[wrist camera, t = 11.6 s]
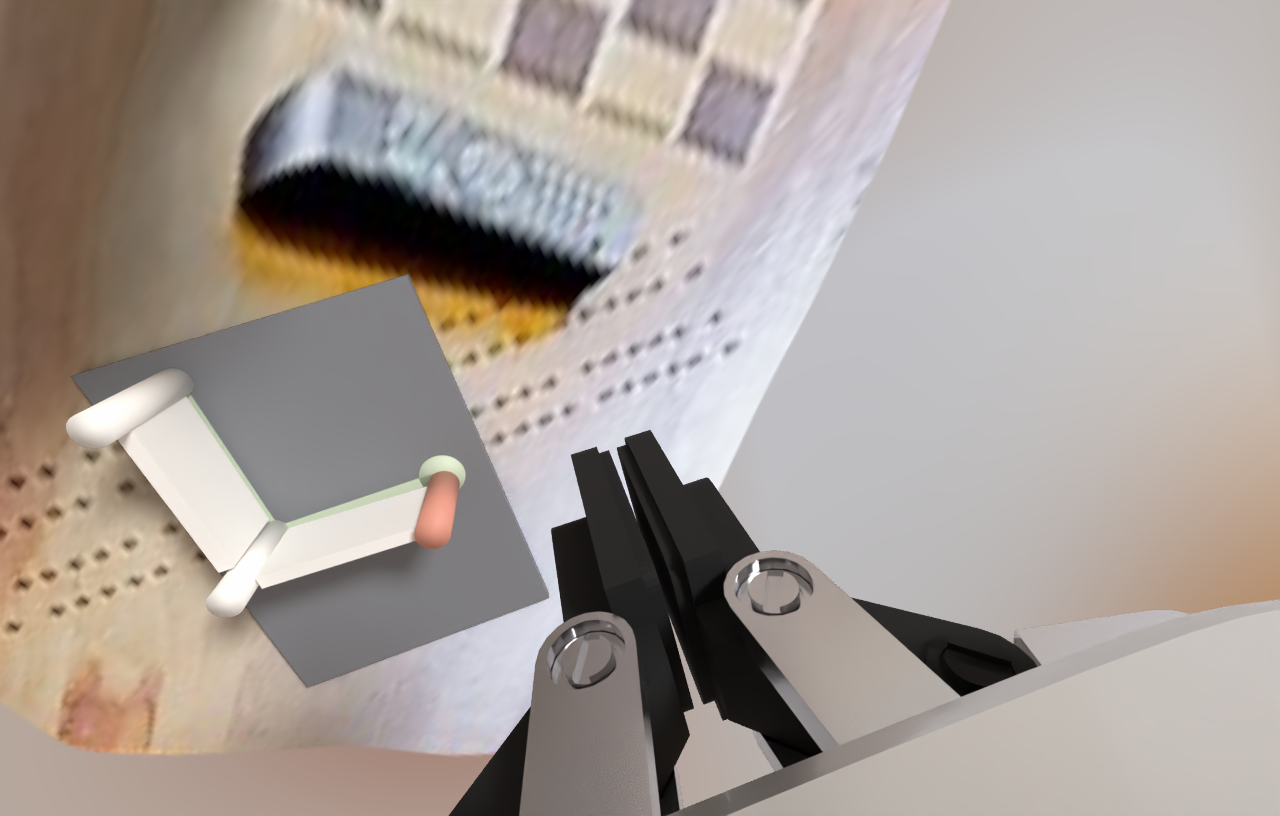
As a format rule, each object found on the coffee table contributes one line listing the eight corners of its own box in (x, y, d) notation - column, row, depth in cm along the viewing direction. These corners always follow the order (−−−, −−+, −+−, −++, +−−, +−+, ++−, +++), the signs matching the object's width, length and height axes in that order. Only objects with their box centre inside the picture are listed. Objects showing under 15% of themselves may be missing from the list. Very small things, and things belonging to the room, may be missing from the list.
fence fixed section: (149, 373, 31) (56, 420, 25) (182, 364, 31) (97, 407, 25) (269, 546, 36) (217, 622, 30) (296, 537, 36) (251, 610, 30)
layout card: (78, 373, 31) (69, 377, 30) (408, 274, 33) (406, 275, 32) (309, 680, 41) (306, 688, 41) (548, 592, 43) (549, 598, 42)
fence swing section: (300, 541, 36) (262, 603, 31) (285, 517, 35) (244, 576, 30) (463, 491, 37) (455, 542, 32) (453, 467, 36) (443, 515, 31)
